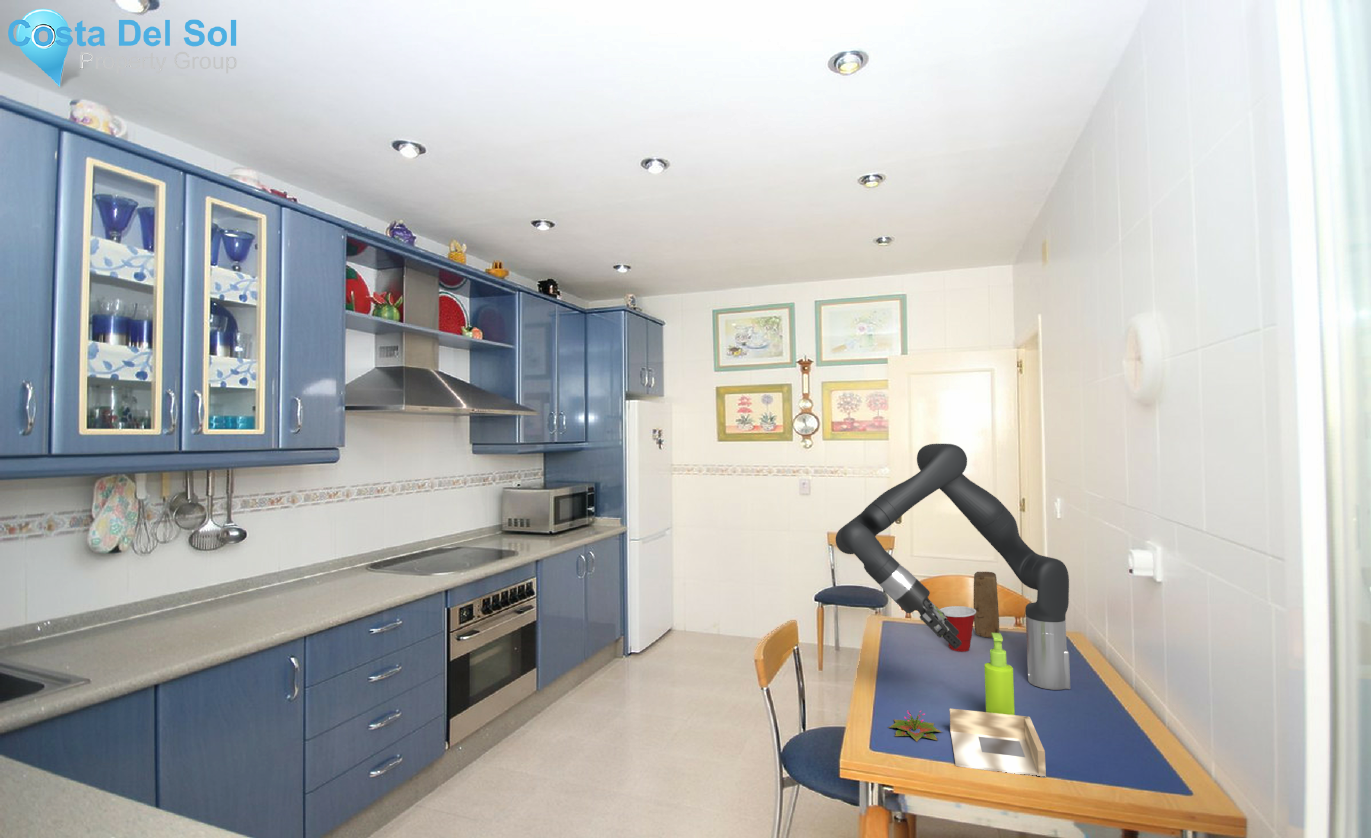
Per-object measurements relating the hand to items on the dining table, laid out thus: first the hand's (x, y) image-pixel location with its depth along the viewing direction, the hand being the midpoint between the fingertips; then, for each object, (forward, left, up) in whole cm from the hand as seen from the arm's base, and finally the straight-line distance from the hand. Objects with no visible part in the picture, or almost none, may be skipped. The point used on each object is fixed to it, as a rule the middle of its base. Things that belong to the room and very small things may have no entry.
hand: (957, 640), depth 151 cm
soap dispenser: (-8, 0, -18) cm, 20 cm away
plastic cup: (-3, -53, -18) cm, 56 cm away
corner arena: (-5, +15, -18) cm, 24 cm away
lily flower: (+10, +9, -19) cm, 23 cm away
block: (-13, -71, -18) cm, 74 cm away
